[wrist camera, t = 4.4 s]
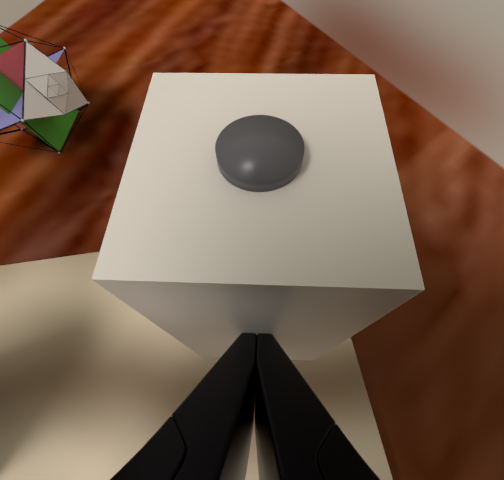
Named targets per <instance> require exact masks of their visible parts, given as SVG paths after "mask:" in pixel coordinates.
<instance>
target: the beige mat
mask: <svg viewBox="0 0 504 480" xmlns="http://www.w3.org/2000/svg"><path fill="white" fill-rule="evenodd" d="M99 253H100V252H94V253H87V254H80V255H73V256H66V257H59V258H52V259H45V260H38V261H31V262H24V263H17V264H10V265H3V266H0V480H110V479H111V478H112V477H113V476H114V475H115V474H116V473H117V472H118V471H119V470H120V469H121V468H122V467H123V466H124V465H125V464H126V463H127V462H128V461H129V460H130V459H131V458H132V457H133V456H134V455H135V454H136V453H137V452H138V451H139V450H140V449H141V448H142V447H143V446H144V445H145V444H146V443H147V442H148V441H149V439H150V438H151V437H152V436H153V435H154V434H155V433H156V432H157V431H158V430H159V428H160V427H161V426H162V425H163V424H164V423H165V421H166V420H167V419H168V418H169V417H170V416H172V413H173V412H174V411H175V410H176V409H177V408H178V406H179V405H180V404H181V403H182V402H183V401H184V399H185V398H186V397H187V396H188V395H189V394H190V392H191V391H192V390H193V389H194V388H195V387H196V385H197V384H198V383H199V382H200V381H201V380H202V378H203V377H204V376H205V375H206V374H207V373H208V371H209V370H210V369H211V368H212V367H213V366H214V364H215V363H216V362H217V361H218V360H219V359H220V357H202V356H200V355H198V354H197V353H195V352H194V351H193V350H191V349H190V348H188V347H187V346H185V345H184V344H183V343H181V342H180V341H178V340H177V339H176V338H174V337H173V336H171V335H170V334H168V333H167V332H166V331H164V330H163V329H161V328H160V327H158V326H157V325H156V324H154V323H153V322H151V321H150V320H148V319H147V318H146V317H144V316H143V315H141V314H140V313H138V312H137V311H136V310H134V309H133V308H131V307H130V306H129V305H127V304H126V303H124V302H123V301H121V300H120V299H119V298H117V297H116V296H114V295H113V294H111V293H110V292H109V291H107V290H106V289H104V288H103V287H101V286H100V285H99V284H97V283H96V282H94V281H93V280H91V279H92V276H93V272H94V269H95V266H96V262H97V259H98V256H99ZM291 361H292V362H293V364H294V365H295V366H296V368H297V369H298V371H299V372H300V373H301V375H302V376H303V378H304V379H305V380H306V382H307V383H308V385H309V386H310V387H311V389H312V390H313V391H314V393H315V394H316V396H317V397H318V398H319V400H320V401H321V403H322V404H323V405H324V407H325V408H326V410H327V411H328V412H329V414H330V415H331V417H332V418H333V419H334V421H335V424H337V425H338V426H339V427H340V429H341V430H342V432H343V433H344V434H345V436H346V437H347V439H348V440H349V441H350V443H351V444H352V445H353V446H354V448H355V449H356V450H357V452H358V453H359V454H360V456H361V457H362V458H363V460H364V461H365V462H366V463H367V464H368V466H369V467H370V468H371V469H372V470H373V472H374V473H375V474H376V475H377V476H378V477H379V479H380V480H393V479H392V475H391V472H390V468H389V465H388V462H387V458H386V455H385V451H384V448H383V445H382V441H381V438H380V434H379V431H378V428H377V424H376V421H375V418H374V414H373V411H372V407H371V404H370V401H369V397H368V394H367V390H366V387H365V384H364V380H363V377H362V373H361V370H360V367H359V363H358V360H357V356H356V353H355V350H354V346H353V343H352V339H351V337H350V338H349V339H347V340H345V341H344V342H342V343H341V344H339V345H338V346H336V347H334V348H333V349H331V350H330V351H328V352H327V353H325V354H323V355H322V356H320V357H319V358H317V359H316V360H314V361H304V360H291ZM245 480H259V473H258V461H257V449H256V437H255V408H254V424H253V432H252V438H251V445H250V451H249V458H248V464H247V471H246V477H245Z"/></svg>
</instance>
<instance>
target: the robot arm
mask: <svg viewBox="0 0 504 480" xmlns="http://www.w3.org/2000/svg"><path fill="white" fill-rule="evenodd" d="M254 408H255V437H256V449H257V461H258V473H259V480H380V479H379V477H378V476H377V475H376V474H375V473H374V472H373V470H372V469H371V468H370V467H369V466H368V464H367V463H366V462H365V461H364V460H363V458H362V457H361V456H360V454H359V453H358V452H357V450H356V449H355V448H354V446H353V445H352V444H351V443H350V441H349V440H348V439H347V437H346V436H345V434H344V433H343V432H342V430H341V429H340V427H339V426H338V425H337V424H335V421H334V419H333V418H332V417H331V415H330V414H329V412H328V411H327V410H326V408H325V407H324V405H323V404H322V403H321V401H320V400H319V398H318V397H317V396H316V394H315V393H314V391H313V390H312V389H311V387H310V386H309V385H308V383H307V382H306V380H305V379H304V378H303V376H302V375H301V373H300V372H299V371H298V369H297V368H296V366H295V365H294V364H293V362H292V361H291V360H290V358H289V357H288V355H287V354H286V353H285V351H284V350H283V348H282V347H281V346H280V344H279V343H278V341H277V340H276V339H275V337H274V336H273V335H272V334H268V333H259V334H257V335H256V334H255V333H241V334H240V335H239V336H238V338H237V339H236V340H235V341H234V342H233V343H232V345H231V346H230V347H229V348H228V349H227V350H226V352H225V353H224V354H223V355H222V356H221V357H220V359H219V360H218V361H217V362H216V363H215V364H214V366H213V367H212V368H211V369H210V370H209V371H208V373H207V374H206V375H205V376H204V377H203V378H202V380H201V381H200V382H199V383H198V384H197V385H196V387H195V388H194V389H193V390H192V391H191V392H190V394H189V395H188V396H187V397H186V398H185V399H184V401H183V402H182V403H181V404H180V405H179V406H178V408H177V409H176V410H175V411H174V412H173V413H172V416H170V417H169V418H168V419H167V420H166V421H165V423H164V424H163V425H162V426H161V427H160V428H159V430H158V431H157V432H156V433H155V434H154V435H153V436H152V437H151V438H150V439H149V441H148V442H147V443H146V444H145V445H144V446H143V447H142V448H141V449H140V450H139V451H138V452H137V453H136V454H135V455H134V456H133V457H132V458H131V459H130V460H129V461H128V462H127V463H126V464H125V465H124V466H123V467H122V468H121V469H120V470H119V471H118V472H117V473H116V474H115V475H114V476H113V477H112V478H111V479H110V480H245V477H246V471H247V464H248V458H249V451H250V445H251V438H252V432H253V424H254Z"/></svg>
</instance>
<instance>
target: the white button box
mask: <svg viewBox="0 0 504 480" xmlns="http://www.w3.org/2000/svg"><path fill="white" fill-rule="evenodd" d="M91 280H93V281H94V282H96V283H97V284H99V285H100V286H101V287H103V288H104V289H106V290H107V291H109V292H110V293H111V294H113V295H114V296H116V297H117V298H119V299H120V300H121V301H123V302H124V303H126V304H127V305H129V306H130V307H131V308H133V309H134V310H136V311H137V312H138V313H140V314H141V315H143V316H144V317H146V318H147V319H148V320H150V321H151V322H153V323H154V324H156V325H157V326H158V327H160V328H161V329H163V330H164V331H166V332H167V333H168V334H170V335H171V336H173V337H174V338H176V339H177V340H178V341H180V342H181V343H183V344H184V345H185V346H187V347H188V348H190V349H191V350H193V351H194V352H195V353H197V354H198V355H200V356H202V357H221V356H222V355H223V354H224V353H225V352H226V350H227V349H228V348H229V347H230V346H231V345H232V343H233V342H234V341H235V340H236V339H237V338H238V336H239V335H240V334H241V333H255V334H256V335H257V334H259V333H268V334H272V335H273V336H274V337H275V339H276V340H277V341H278V343H279V344H280V346H281V347H282V348H283V350H284V351H285V353H286V354H287V355H288V357H289V358H290V360H304V361H314V360H316V359H317V358H319V357H320V356H322V355H323V354H325V353H327V352H328V351H330V350H331V349H333V348H334V347H336V346H338V345H339V344H341V343H342V342H344V341H345V340H347V339H349V338H350V337H352V336H353V335H355V334H356V333H358V332H360V331H361V330H363V329H364V328H366V327H367V326H369V325H371V324H372V323H374V322H375V321H377V320H378V319H380V318H382V317H383V316H385V315H386V314H388V313H389V312H391V311H393V310H394V309H396V308H397V307H399V306H400V305H402V304H404V303H405V302H407V301H408V300H410V299H411V298H413V297H415V296H416V295H418V294H419V293H421V292H422V291H424V290H425V288H424V283H423V279H422V275H421V271H420V266H419V262H418V258H417V254H416V249H415V245H414V241H413V237H412V232H411V228H410V224H409V220H408V215H407V211H406V207H405V203H404V198H403V194H402V190H401V186H400V181H399V177H398V173H397V169H396V164H395V160H394V156H393V152H392V147H391V143H390V139H389V135H388V130H387V126H386V122H385V118H384V113H383V109H382V105H381V101H380V96H379V92H378V88H377V84H376V79H375V75H365V74H242V73H153V76H152V79H151V83H150V86H149V89H148V93H147V96H146V99H145V103H144V106H143V109H142V113H141V116H140V119H139V123H138V126H137V129H136V133H135V136H134V139H133V143H132V146H131V149H130V153H129V156H128V159H127V163H126V166H125V169H124V173H123V176H122V179H121V183H120V186H119V189H118V193H117V196H116V199H115V203H114V206H113V209H112V213H111V216H110V219H109V223H108V226H107V229H106V233H105V236H104V239H103V243H102V246H101V249H100V253H99V256H98V259H97V262H96V266H95V269H94V272H93V276H92V279H91Z"/></svg>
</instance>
